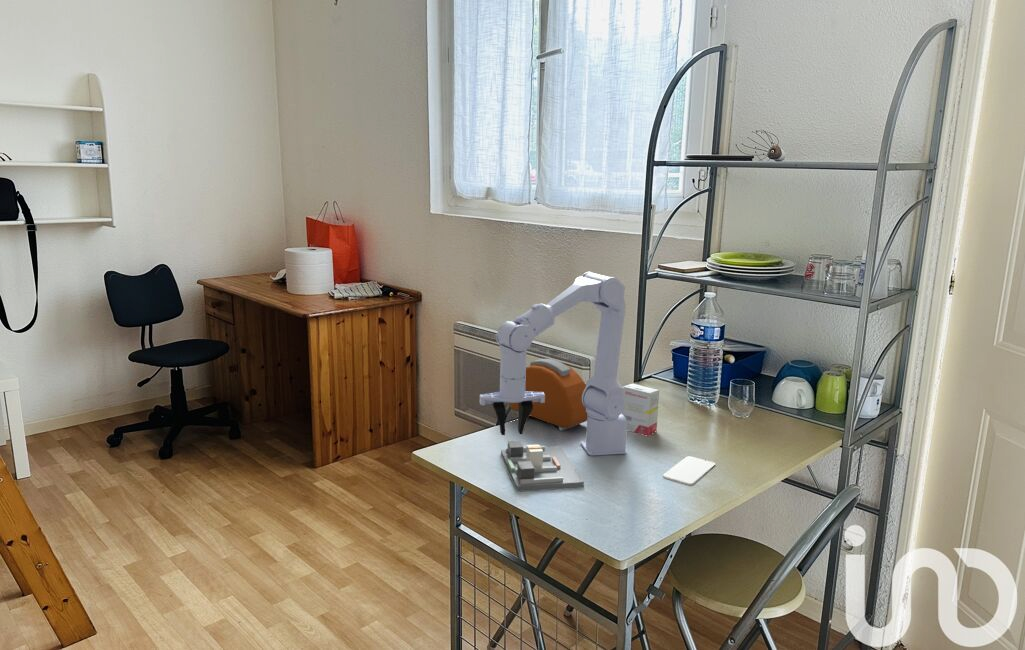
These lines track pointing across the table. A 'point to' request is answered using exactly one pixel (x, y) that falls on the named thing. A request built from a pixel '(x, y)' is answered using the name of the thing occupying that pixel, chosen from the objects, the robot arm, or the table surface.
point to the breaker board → (540, 469)
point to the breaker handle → (534, 455)
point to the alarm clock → (555, 393)
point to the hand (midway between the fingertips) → (511, 433)
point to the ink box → (640, 408)
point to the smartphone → (688, 470)
